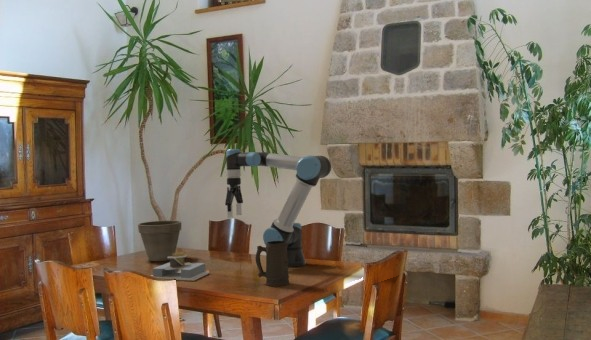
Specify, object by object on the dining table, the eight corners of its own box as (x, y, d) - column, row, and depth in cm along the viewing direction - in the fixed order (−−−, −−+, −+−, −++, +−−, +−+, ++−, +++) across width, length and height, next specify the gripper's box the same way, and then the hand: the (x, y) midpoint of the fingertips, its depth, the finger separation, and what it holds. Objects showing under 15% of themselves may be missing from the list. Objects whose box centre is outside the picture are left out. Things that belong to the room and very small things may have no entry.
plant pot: (130, 262, 358) (129, 224, 357) (153, 255, 381) (152, 219, 380) (168, 263, 350) (167, 225, 349) (189, 256, 373) (188, 220, 373)
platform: (199, 265, 313) (199, 252, 313) (166, 269, 302) (166, 256, 302) (189, 262, 323) (188, 249, 322) (156, 266, 312) (156, 253, 312)
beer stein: (290, 281, 295) (286, 239, 295) (291, 285, 284) (287, 242, 284) (258, 284, 295) (254, 242, 294) (257, 289, 284) (253, 245, 283)
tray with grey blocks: (208, 273, 318) (208, 263, 318) (194, 280, 301) (193, 269, 301) (166, 272, 325) (166, 262, 325) (149, 278, 308) (148, 268, 307)
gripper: (235, 176, 353) (236, 213, 354) (218, 178, 329) (219, 218, 329) (248, 176, 351) (248, 214, 352) (231, 178, 327) (232, 218, 327)
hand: (234, 216), depth 341 cm, fingers open, 13 cm apart
